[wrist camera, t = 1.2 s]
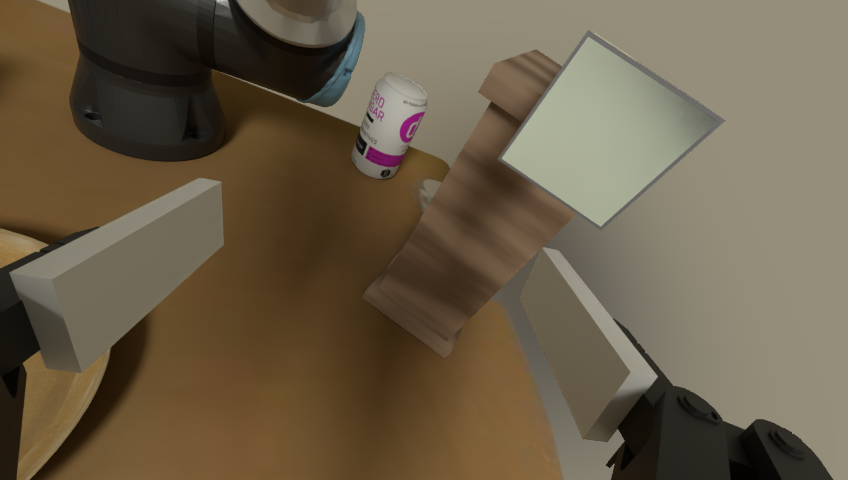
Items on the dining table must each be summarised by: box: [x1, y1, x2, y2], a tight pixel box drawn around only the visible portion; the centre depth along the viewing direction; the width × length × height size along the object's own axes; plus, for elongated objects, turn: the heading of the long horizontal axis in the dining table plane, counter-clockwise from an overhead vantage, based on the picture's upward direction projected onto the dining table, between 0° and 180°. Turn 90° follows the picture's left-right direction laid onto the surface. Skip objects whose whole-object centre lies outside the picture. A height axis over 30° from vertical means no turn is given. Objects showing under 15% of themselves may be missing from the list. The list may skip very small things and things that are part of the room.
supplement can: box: [351, 73, 427, 179], centre depth 54 cm, size 8×8×15 cm
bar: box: [498, 30, 725, 230], centre depth 22 cm, size 30×4×4 cm, turn 154°
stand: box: [361, 50, 576, 359], centre depth 38 cm, size 20×12×28 cm, turn 154°
